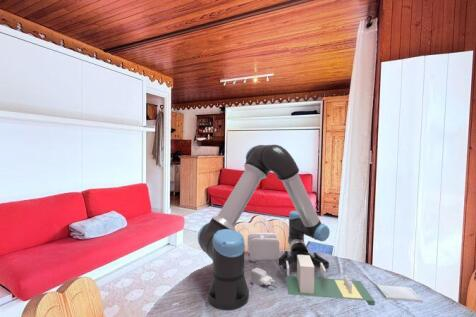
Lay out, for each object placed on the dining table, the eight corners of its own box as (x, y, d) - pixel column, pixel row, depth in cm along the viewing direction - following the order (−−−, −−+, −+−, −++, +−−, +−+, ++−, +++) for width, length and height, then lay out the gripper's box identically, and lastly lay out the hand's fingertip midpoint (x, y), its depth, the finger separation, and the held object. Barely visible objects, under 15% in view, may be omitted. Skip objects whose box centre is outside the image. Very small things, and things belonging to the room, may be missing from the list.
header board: (288, 298, 87) (288, 283, 87) (285, 279, 100) (285, 266, 100) (374, 305, 83) (374, 289, 83) (360, 284, 96) (360, 271, 96)
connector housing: (300, 292, 88) (300, 266, 87) (296, 278, 98) (297, 254, 97) (313, 293, 87) (314, 267, 87) (309, 279, 97) (309, 255, 97)
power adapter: (279, 290, 92) (279, 275, 92) (271, 295, 88) (271, 280, 88) (257, 279, 100) (257, 265, 99) (249, 284, 96) (249, 269, 96)
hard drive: (385, 296, 86) (422, 299, 85) (375, 284, 95) (409, 286, 93) (385, 301, 86) (422, 303, 85) (375, 288, 95) (409, 290, 93)
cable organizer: (248, 262, 114) (248, 239, 114) (247, 253, 125) (247, 231, 125) (279, 263, 115) (279, 239, 114) (275, 253, 125) (275, 232, 125)
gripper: (326, 259, 109) (340, 285, 88) (272, 256, 112) (273, 280, 91) (326, 243, 109) (340, 265, 88) (272, 240, 112) (273, 261, 91)
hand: (306, 273), depth 89 cm, fingers open, 13 cm apart
